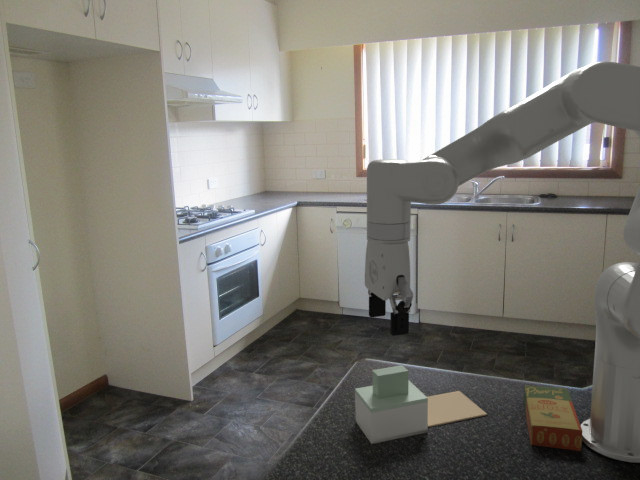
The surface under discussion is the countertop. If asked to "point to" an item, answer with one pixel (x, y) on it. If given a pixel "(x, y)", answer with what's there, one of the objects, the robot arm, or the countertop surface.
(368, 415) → the tub
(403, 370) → the lid
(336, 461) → the countertop surface
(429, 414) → the mat
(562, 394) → the carton
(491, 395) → the countertop surface
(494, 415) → the countertop surface
